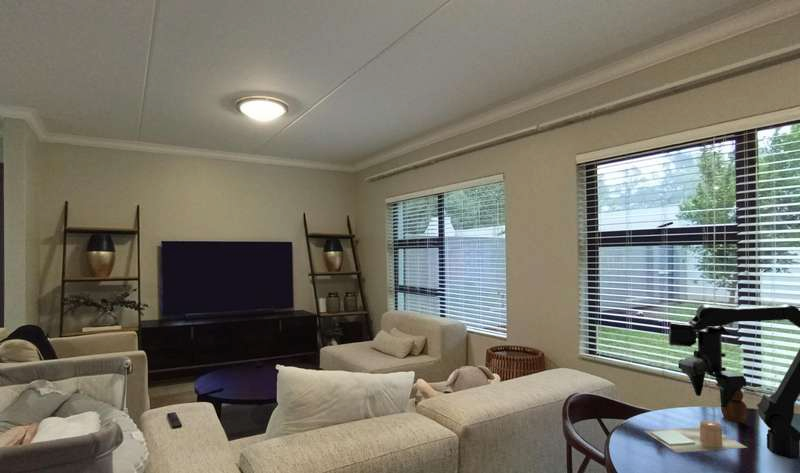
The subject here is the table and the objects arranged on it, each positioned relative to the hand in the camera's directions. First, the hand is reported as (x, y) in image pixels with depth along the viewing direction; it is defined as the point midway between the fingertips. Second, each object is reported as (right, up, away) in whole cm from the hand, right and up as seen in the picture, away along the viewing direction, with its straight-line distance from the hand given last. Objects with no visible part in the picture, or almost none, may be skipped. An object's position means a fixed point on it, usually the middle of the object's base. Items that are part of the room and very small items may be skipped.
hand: (710, 401), depth 130 cm
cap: (0, -12, 0) cm, 12 cm away
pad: (-10, -12, +2) cm, 16 cm away
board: (-4, -13, +1) cm, 13 cm away
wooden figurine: (+18, -13, +15) cm, 27 cm away
